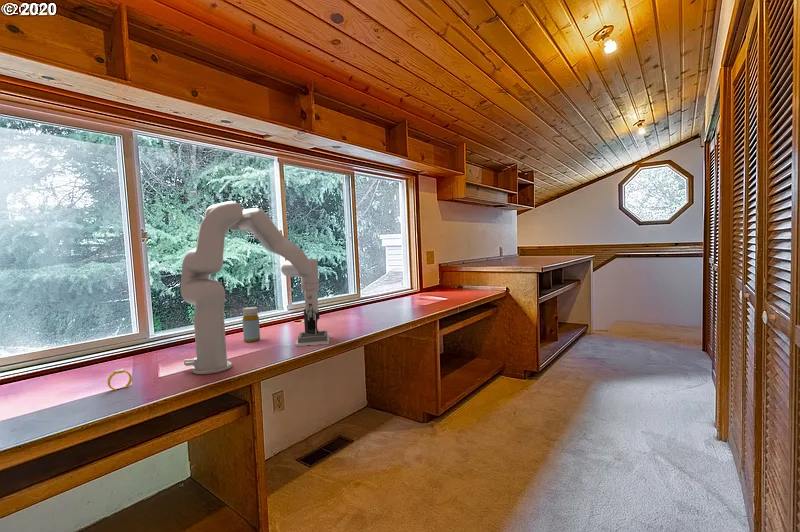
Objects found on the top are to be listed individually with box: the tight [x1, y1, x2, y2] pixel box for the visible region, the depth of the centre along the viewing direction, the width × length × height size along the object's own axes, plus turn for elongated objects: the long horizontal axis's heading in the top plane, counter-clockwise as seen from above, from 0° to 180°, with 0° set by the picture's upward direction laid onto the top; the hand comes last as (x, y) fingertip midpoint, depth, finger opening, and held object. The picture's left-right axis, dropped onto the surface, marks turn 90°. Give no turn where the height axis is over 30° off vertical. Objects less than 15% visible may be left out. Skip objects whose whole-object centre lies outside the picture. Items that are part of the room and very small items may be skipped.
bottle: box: [242, 306, 261, 343], centre depth 180 cm, size 7×7×15 cm
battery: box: [303, 307, 320, 334], centre depth 173 cm, size 7×4×11 cm, turn 52°
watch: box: [107, 368, 133, 391], centre depth 122 cm, size 6×3×6 cm, turn 139°
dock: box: [295, 330, 331, 348], centre depth 173 cm, size 14×14×3 cm
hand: (312, 327), depth 173 cm, fingers closed on battery, 6 cm apart
